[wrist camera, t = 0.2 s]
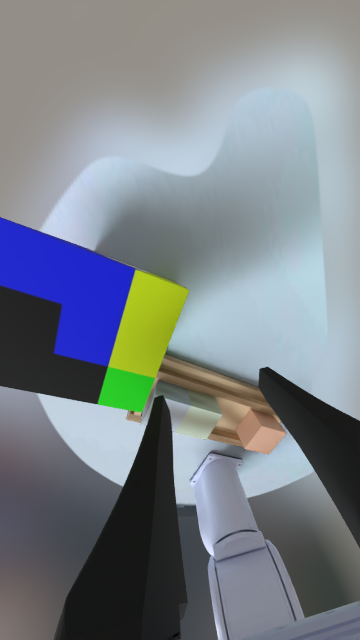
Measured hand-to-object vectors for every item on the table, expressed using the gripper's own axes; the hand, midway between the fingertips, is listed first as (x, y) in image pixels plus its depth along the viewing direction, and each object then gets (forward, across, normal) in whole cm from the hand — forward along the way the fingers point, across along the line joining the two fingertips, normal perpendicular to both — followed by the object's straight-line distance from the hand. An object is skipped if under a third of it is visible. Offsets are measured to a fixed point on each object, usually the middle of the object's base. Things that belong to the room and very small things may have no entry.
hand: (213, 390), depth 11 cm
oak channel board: (+8, -1, +15) cm, 17 cm away
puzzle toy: (+12, +7, -4) cm, 14 cm away
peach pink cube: (+6, -8, +20) cm, 22 cm away
